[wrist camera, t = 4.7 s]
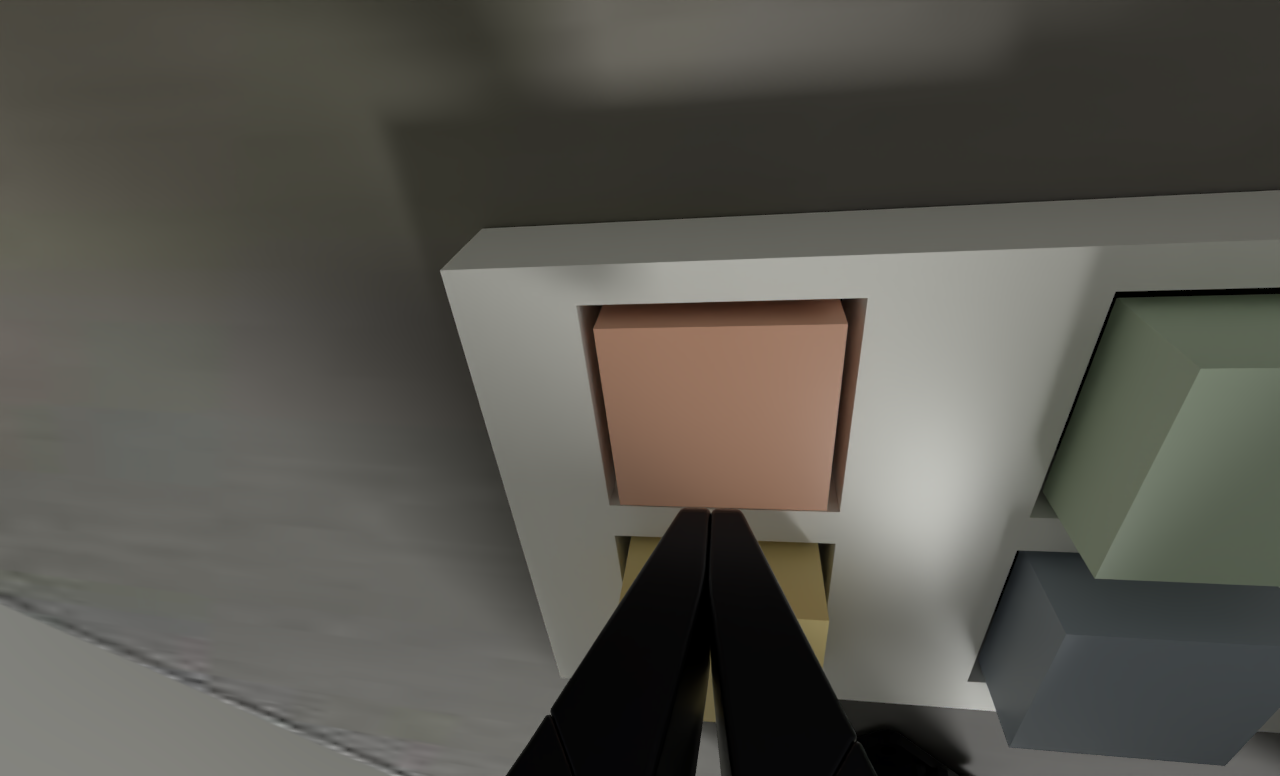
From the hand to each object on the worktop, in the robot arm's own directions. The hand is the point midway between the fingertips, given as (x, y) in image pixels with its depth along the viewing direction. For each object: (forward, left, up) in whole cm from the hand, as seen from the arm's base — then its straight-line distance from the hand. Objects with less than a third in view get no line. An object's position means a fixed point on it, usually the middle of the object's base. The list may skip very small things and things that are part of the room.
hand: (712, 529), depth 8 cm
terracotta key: (0, 0, -4) cm, 4 cm away
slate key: (+2, -10, -3) cm, 10 cm away
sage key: (+6, -6, -3) cm, 9 cm away
